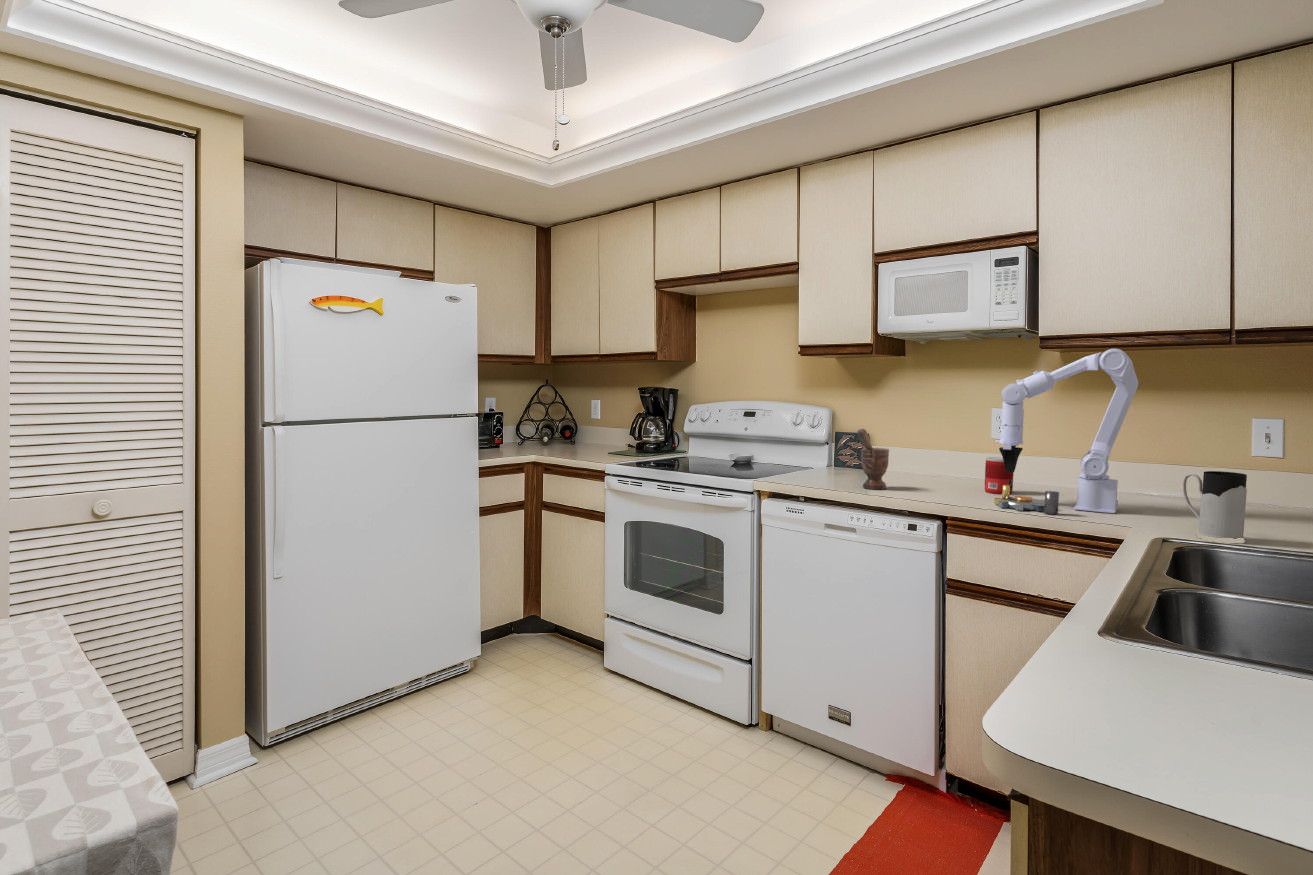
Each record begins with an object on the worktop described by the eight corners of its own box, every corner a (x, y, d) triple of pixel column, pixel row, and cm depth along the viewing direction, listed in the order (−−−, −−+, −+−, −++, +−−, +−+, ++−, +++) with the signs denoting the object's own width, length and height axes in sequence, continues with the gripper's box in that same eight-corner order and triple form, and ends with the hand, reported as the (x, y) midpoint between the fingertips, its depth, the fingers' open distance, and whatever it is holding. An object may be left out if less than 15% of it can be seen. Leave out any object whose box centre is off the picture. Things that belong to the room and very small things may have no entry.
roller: (1058, 513, 184) (1059, 491, 183) (1057, 515, 181) (1058, 493, 181) (1044, 512, 186) (1046, 490, 185) (1043, 514, 183) (1044, 492, 182)
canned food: (1015, 495, 213) (1017, 460, 212) (988, 494, 214) (989, 459, 213) (1008, 491, 220) (1009, 457, 219) (981, 490, 222) (983, 456, 221)
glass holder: (1222, 544, 150) (1227, 476, 149) (1164, 530, 164) (1168, 468, 163) (1256, 542, 151) (1261, 475, 150) (1196, 528, 165) (1200, 467, 164)
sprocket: (1055, 504, 195) (1056, 485, 194) (1049, 513, 183) (1050, 492, 182) (999, 499, 203) (999, 481, 203) (989, 507, 191) (990, 487, 191)
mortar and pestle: (878, 492, 217) (880, 429, 216) (852, 489, 223) (853, 428, 221) (891, 488, 226) (893, 427, 225) (866, 485, 232) (867, 426, 230)
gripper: (1001, 423, 206) (999, 468, 207) (992, 426, 194) (990, 473, 196) (1027, 424, 202) (1025, 470, 203) (1020, 427, 190) (1017, 475, 192)
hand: (1009, 472), depth 199 cm, fingers closed
